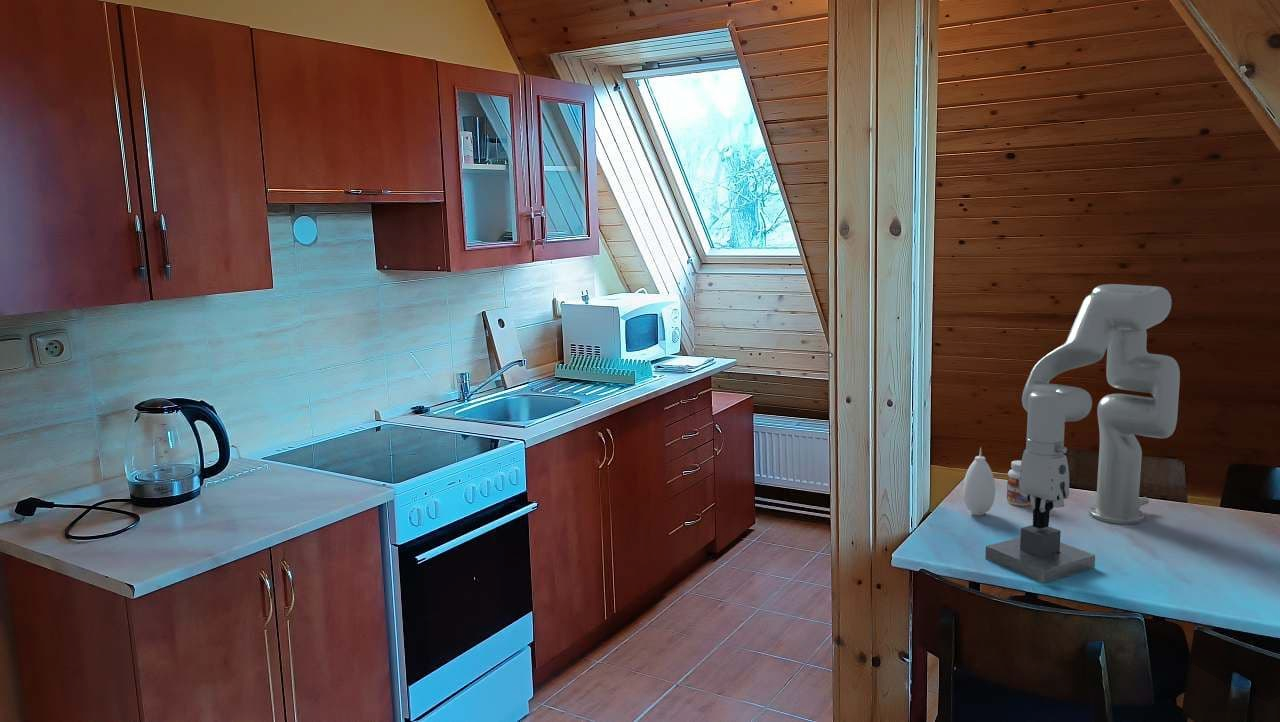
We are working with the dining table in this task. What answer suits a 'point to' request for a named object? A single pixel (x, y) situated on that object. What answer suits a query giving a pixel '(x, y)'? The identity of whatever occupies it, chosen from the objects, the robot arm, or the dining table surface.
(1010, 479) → the pill bottle
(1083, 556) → the socket
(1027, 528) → the plug
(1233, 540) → the dining table surface
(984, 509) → the air blower bulb
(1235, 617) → the dining table surface
